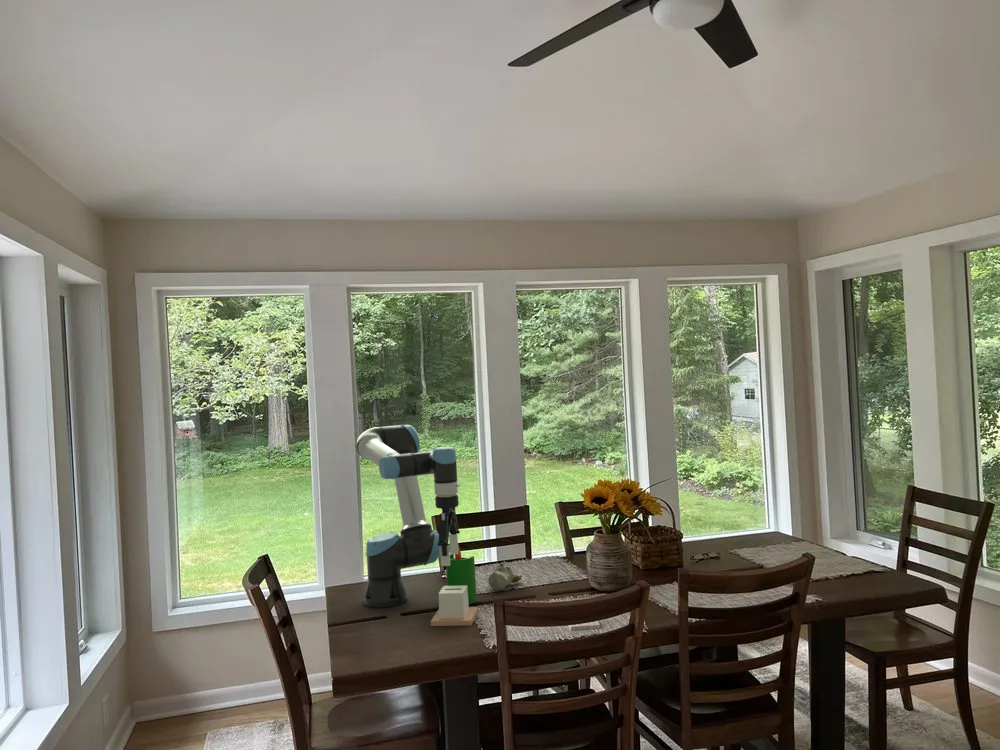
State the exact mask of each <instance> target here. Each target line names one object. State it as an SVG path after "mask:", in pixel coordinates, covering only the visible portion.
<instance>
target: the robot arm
mask: <svg viewBox="0 0 1000 750" xmlns="http://www.w3.org/2000/svg"><path fill="white" fill-rule="evenodd" d="M420 443H421V441H420V437H419V434H418V432H417V430H416V428H415V427H414V426H412V425H411V424H399V425H398V424H397V425H388V426H386V425H385V426H376V427H372V428H368V429H366V430H364V431H363V432H362V433H361V434H360V435H359V436H358V437H357V440H356V444H355V450H356V451H357V454H358V455H359V456H360V457H361V458H363V459H364V460H366V461H371V462H372V463H374V464H375V465H376V466H378V469H379V470H378V471H379V474H380V476H381V478H382V479H383V480H390V479H391V480H394V484H395V488H396V495H397V500H398V505H399V511H400V515H401V521H402V525H403V526H402V528H401V529H400V531H399V532H400V535H399V534H398V533H397V532H395V531H394V532H384V533H380V534H377V535H374V536H372V537H370V538H369V539H368V540H367V542H366V543H365V544H366V545H365V546H366V547H365V549H366V551H365V555H366V565H367V566H366V567H367V585H366V589H365V592H364V598H363V599H364V600H363V601H364V605H365V606H367V607H370V608H388V607H390V608H391V607H394V606H398V605H401V604H403V603H405V602H406V601H407V600H408V592H407V589H406V586H405V584H404V582H403V578H402V573H401V572H402V571H401V570H403V569H408V568H409V569H410V568H414V567H419V566H427V565H429V564H434V563H435V562H437V561H438V559H439V556H440V561H441V563H440V564H441V567H446V566H450V554H454V555H455V554H458V546H459V542H458V541H459V538H458V534H459V535H460V533H461V532H460V528H459V524H458V517H457V512H456V508H457V507H458V506H459V505H460V504H459V502H460V501H459V495H458V492H459V491H458V489H459V487H460V484H459V483H458V468H457V454H456V453H457V452H456V449H455V447H453V446H440V447H438V446H437V447H435V448H434V449H429V450H428V449H427V450H425V451H422V452H420V449H421V446H420ZM425 475H433V483H434V486H433V487H434V495H435V498H434V499H435V500H434V501H435V503H434V504H435V508H436V509H441V513H439V515H438V516H439V526H438V528H439V530H438V531H437V530H435V529H433V527H432V524H431V523H429V522H428V521H427V519H426V514H425V509H424V504H423V499H422V494H421V489H420V485H419V479H418V476H425Z"/></svg>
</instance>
